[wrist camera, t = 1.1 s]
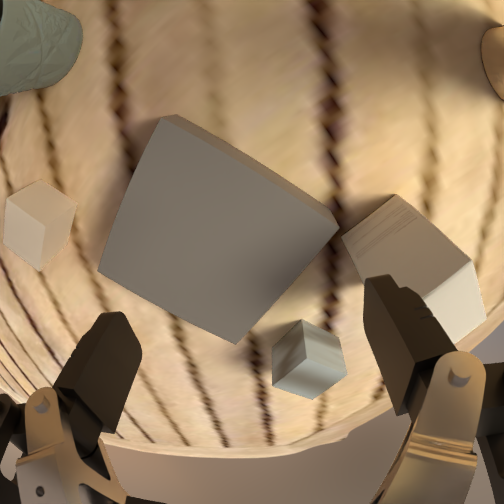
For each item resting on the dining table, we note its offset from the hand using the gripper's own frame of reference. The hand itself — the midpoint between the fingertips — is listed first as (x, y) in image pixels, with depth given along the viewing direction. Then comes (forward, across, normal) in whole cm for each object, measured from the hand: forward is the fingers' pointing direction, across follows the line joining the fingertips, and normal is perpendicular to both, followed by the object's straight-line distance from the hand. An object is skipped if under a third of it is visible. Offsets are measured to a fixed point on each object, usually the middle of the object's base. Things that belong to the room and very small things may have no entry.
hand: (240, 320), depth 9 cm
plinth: (+18, +5, +4) cm, 19 cm away
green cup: (+18, +17, -20) cm, 32 cm away
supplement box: (+18, -12, +7) cm, 23 cm away
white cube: (+19, +22, -2) cm, 29 cm away
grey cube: (+19, -3, +20) cm, 28 cm away
